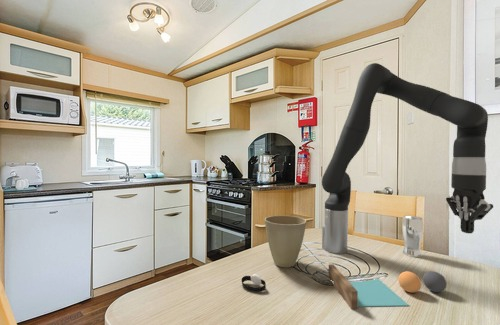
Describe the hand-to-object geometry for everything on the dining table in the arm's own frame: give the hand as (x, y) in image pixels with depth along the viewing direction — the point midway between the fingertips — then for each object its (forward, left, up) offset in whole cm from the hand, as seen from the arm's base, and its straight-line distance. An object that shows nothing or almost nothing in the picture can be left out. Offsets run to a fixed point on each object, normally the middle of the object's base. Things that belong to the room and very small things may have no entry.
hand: (466, 232), depth 72 cm
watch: (-40, -48, -18) cm, 64 cm away
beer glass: (-20, +19, -17) cm, 33 cm away
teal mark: (-17, -23, -17) cm, 34 cm away
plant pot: (-46, -28, -17) cm, 56 cm away
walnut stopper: (-22, -30, -17) cm, 41 cm away
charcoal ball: (-6, -8, -14) cm, 17 cm away
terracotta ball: (-10, -14, -14) cm, 22 cm away
